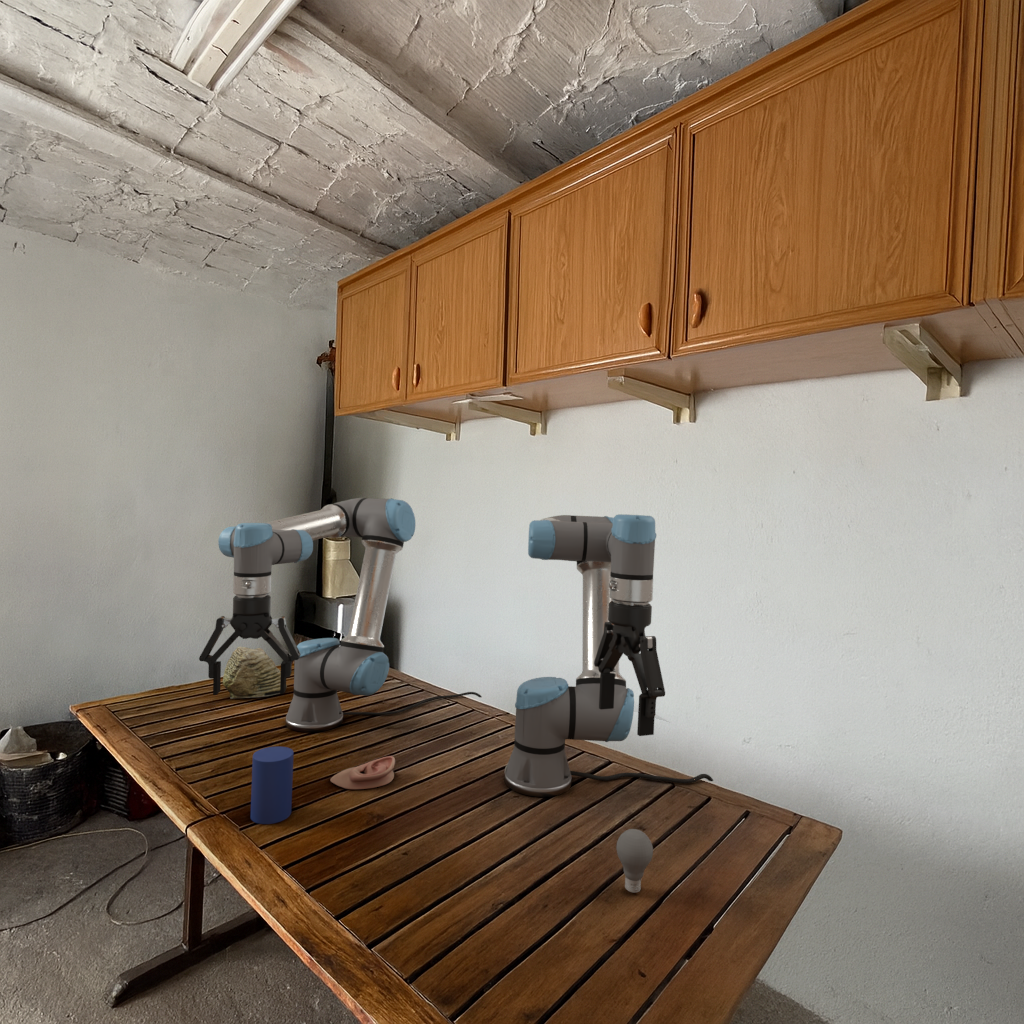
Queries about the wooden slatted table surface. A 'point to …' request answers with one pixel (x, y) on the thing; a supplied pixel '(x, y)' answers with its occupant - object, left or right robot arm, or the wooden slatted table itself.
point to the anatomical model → (366, 774)
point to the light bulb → (634, 857)
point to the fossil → (251, 674)
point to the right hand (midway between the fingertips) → (624, 721)
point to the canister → (271, 785)
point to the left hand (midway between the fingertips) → (250, 692)
